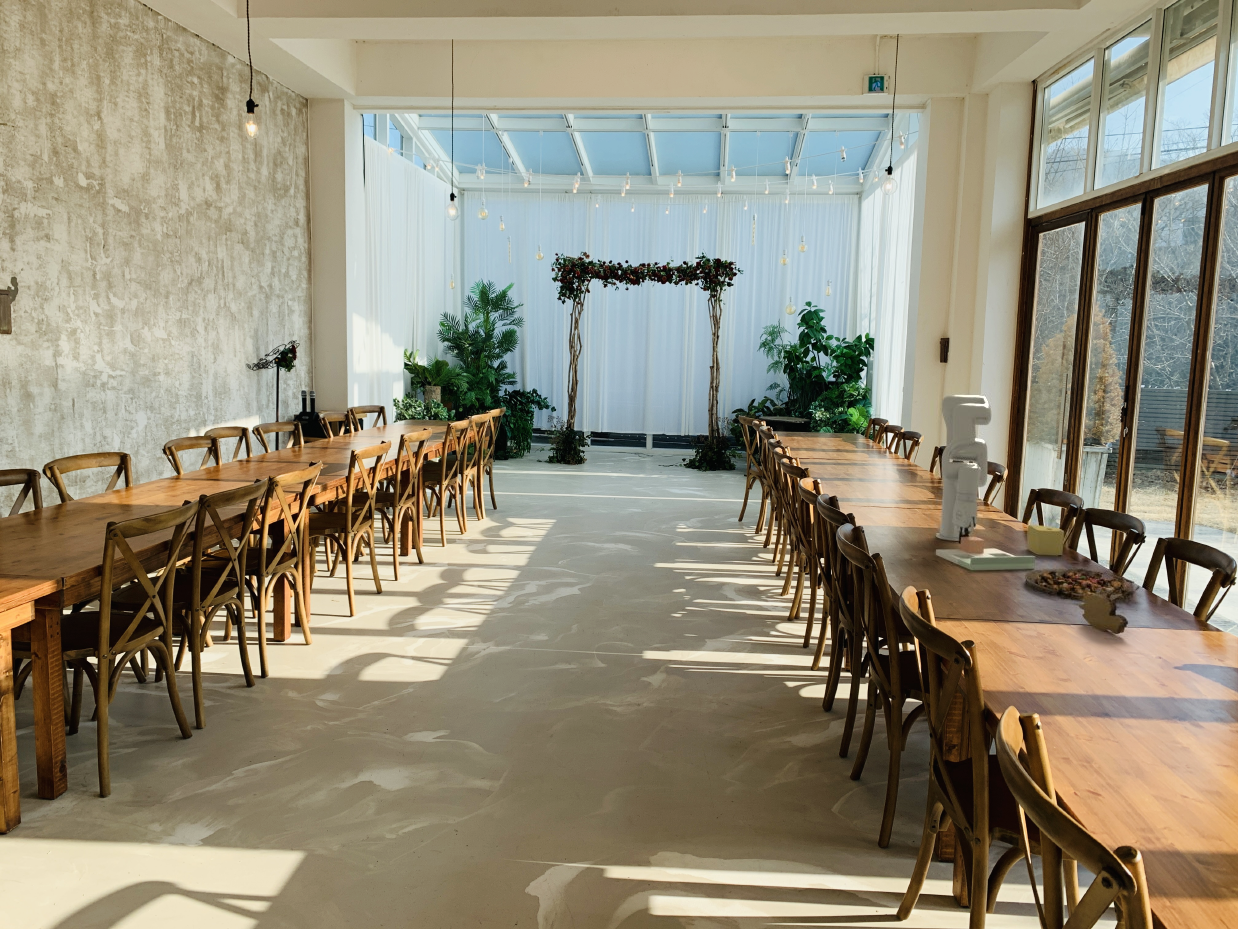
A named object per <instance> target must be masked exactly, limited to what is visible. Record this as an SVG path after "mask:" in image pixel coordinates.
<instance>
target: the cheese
mask: <svg viewBox="0 0 1238 929" xmlns="http://www.w3.org/2000/svg"><path fill="white" fill-rule="evenodd" d="M1026 532H1027V533H1026V541H1027V550H1028V551H1030V552H1032V553H1033V554H1035V555H1037V556H1038V555H1039V556H1040V555H1041V556H1058V555H1063V551H1064V549H1063V548H1064V538H1065V531H1064V530H1062V528H1061V529H1060V528H1058V527H1052V526H1051V527H1050V526H1045V525H1036V524H1029V525H1028V527H1027V531H1026Z"/></svg>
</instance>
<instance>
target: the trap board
mask: <svg viewBox="0 0 1238 929" xmlns="http://www.w3.org/2000/svg"><path fill="white" fill-rule="evenodd" d="M935 550H936V551H935V556H938V557H940V558H942V559H945V560H947V561H949V562H952V563H954V564H955V565H958V566H960V567H963V568H965V569H968V570H970V571H989V570H990V571H992V570H993V571H995V570H998V571H999V570H1031V569H1032V570H1034V569H1035V564H1036V556H1034V555H1015V554H1014V555H1013V554H1011V553H1008V552H1006V551H1003V550H1000V549H997V548H984V553H967V552H964V551H962V550H960V548H951V549H947V548H946V549H945V548H944V549H935Z"/></svg>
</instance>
